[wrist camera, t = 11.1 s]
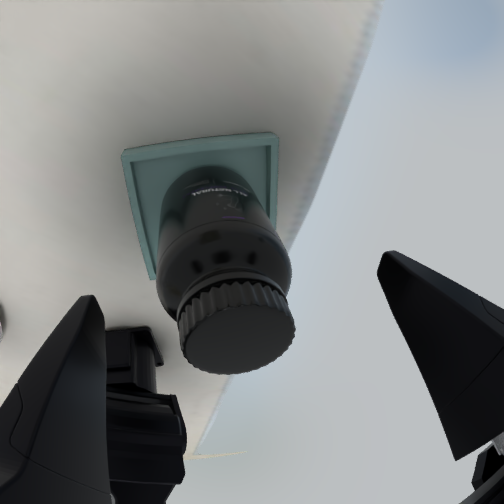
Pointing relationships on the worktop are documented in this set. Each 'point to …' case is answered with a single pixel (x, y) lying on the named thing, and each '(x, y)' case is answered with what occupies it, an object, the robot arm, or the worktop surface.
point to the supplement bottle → (223, 273)
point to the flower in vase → (0, 332)
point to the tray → (190, 157)
